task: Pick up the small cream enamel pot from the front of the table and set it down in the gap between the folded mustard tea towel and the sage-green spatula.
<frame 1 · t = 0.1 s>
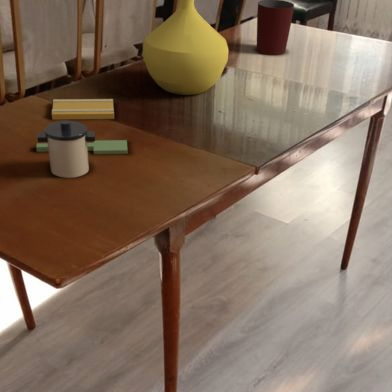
vase: (184, 88, 139), on the table
spatula: (82, 149, 113), on the table
pot: (70, 169, 106), on the table
mug: (272, 50, 163), on the table
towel: (83, 112, 126), on the table
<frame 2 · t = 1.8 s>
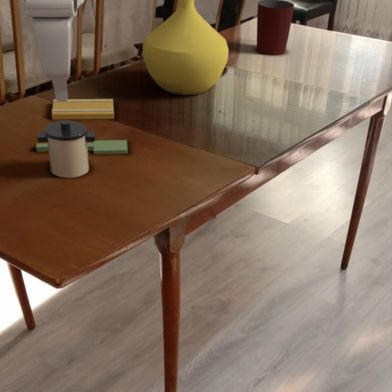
hand: (63, 88, 98), 13 cm above the table, tool pointing down, fingers open, 8 cm apart
nothing on the table moved.
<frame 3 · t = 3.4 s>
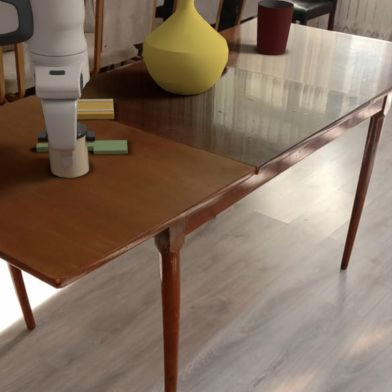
hand: (68, 154, 105), 3 cm above the table, tool pointing down, fingers closed on pot, 6 cm apart
pot: (70, 169, 106), on the table, touching gripper
everything else where it was.
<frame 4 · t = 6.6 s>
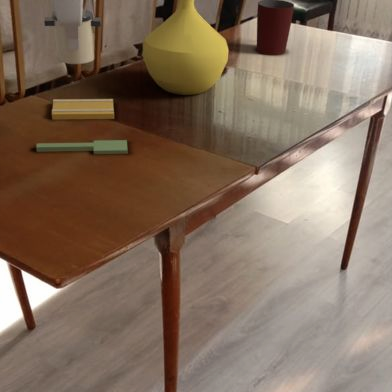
hand: (74, 41, 107), 16 cm above the table, tool pointing down, fingers closed on pot, 6 cm apart
pot: (75, 58, 109), point 14 cm above the table, touching gripper
everything else where it was.
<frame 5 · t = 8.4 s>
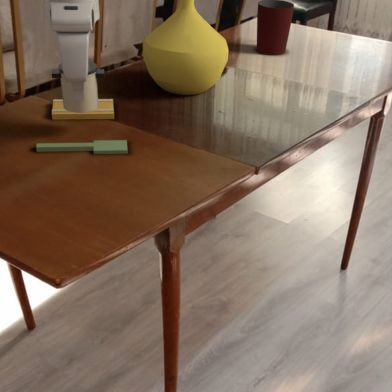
hand: (79, 91, 114), 8 cm above the table, tool pointing down, fingers closed on pot, 6 cm apart
pot: (81, 106, 115), point 5 cm above the table, touching gripper
everything else where it was.
when the fingers open (3 cm above the table, at t = 10.1 s): pot stays where it is, on the table.
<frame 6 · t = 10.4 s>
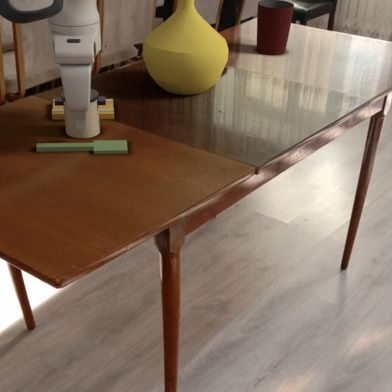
hand: (81, 118, 117), 3 cm above the table, tool pointing down, fingers open, 8 cm apart
pot: (83, 132, 118), on the table
everything else where it was.
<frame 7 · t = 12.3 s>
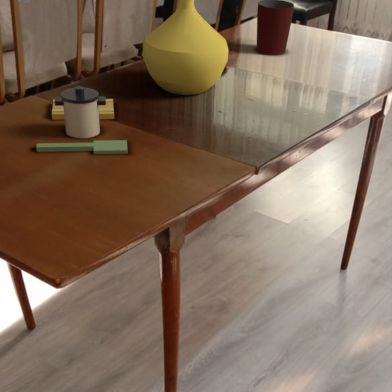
nothing on the table moved.
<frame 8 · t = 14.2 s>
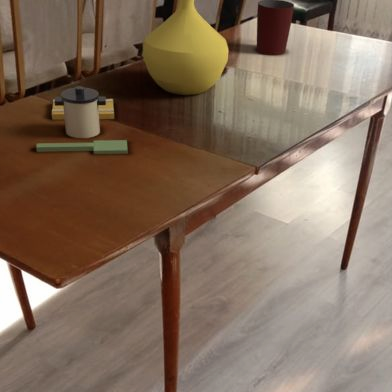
nothing on the table moved.
at the end: pot inside the target area on the table beside the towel (0.0 cm from its centre), on the table; pot tilted 0°; the gripper is holding nothing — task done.
